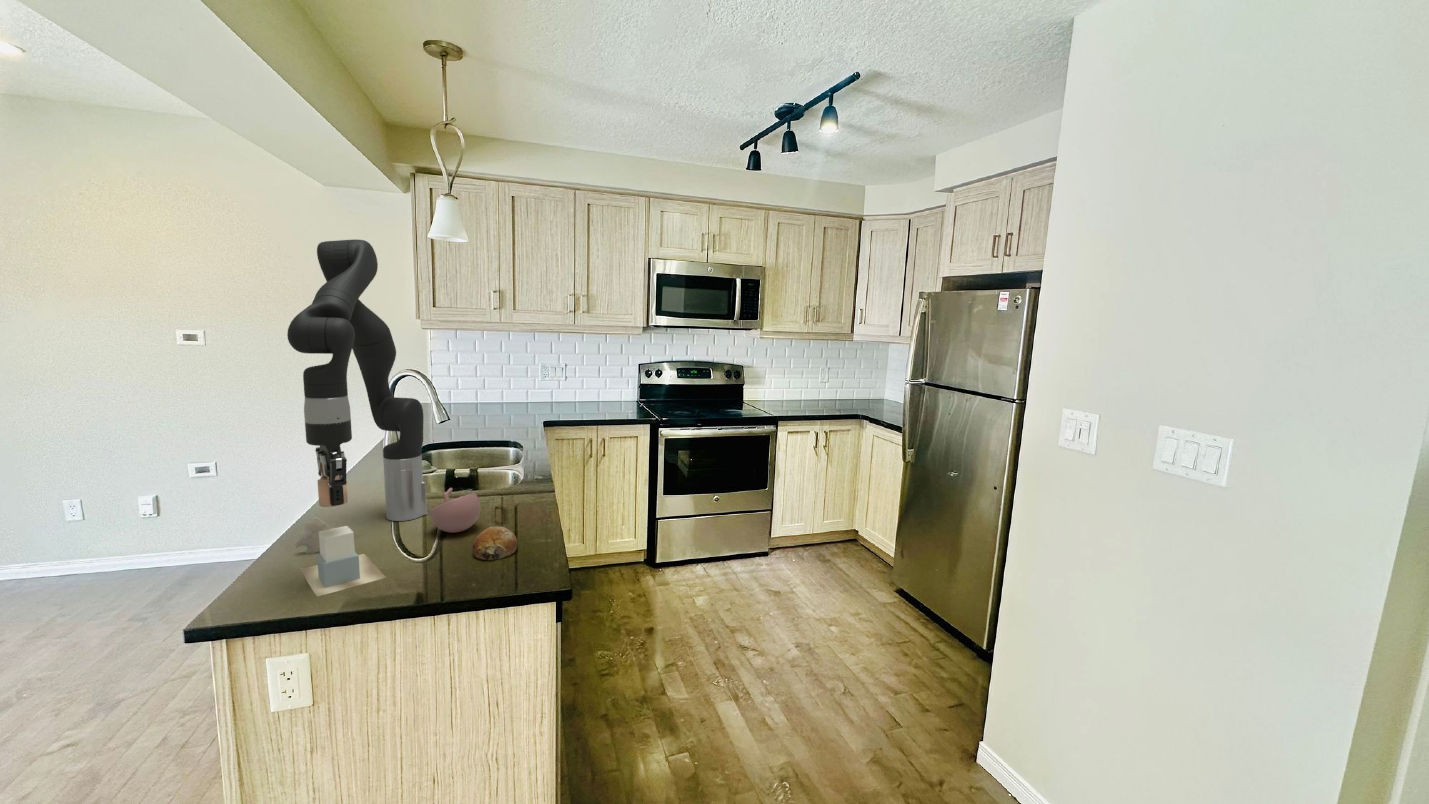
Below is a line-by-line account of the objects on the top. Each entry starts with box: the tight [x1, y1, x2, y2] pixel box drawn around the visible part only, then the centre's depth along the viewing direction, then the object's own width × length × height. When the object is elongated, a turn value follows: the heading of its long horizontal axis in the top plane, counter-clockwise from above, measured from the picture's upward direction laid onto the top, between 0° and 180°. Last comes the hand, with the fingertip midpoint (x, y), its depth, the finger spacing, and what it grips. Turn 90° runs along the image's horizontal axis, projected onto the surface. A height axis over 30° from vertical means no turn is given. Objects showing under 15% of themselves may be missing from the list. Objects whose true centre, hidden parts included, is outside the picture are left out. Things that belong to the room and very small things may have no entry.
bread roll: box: [472, 526, 518, 561], centre depth 133 cm, size 10×10×8 cm
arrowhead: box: [294, 516, 331, 554], centre depth 127 cm, size 8×3×10 cm, turn 118°
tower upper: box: [319, 525, 356, 563], centre depth 114 cm, size 5×5×5 cm
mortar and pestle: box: [429, 487, 481, 534], centre depth 145 cm, size 12×12×11 cm
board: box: [299, 553, 387, 598], centre depth 117 cm, size 12×16×2 cm
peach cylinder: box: [317, 476, 349, 508], centre depth 112 cm, size 5×5×5 cm
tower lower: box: [316, 551, 360, 588], centre depth 115 cm, size 6×6×5 cm
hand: (333, 501), depth 113 cm, fingers closed on peach cylinder, 4 cm apart
